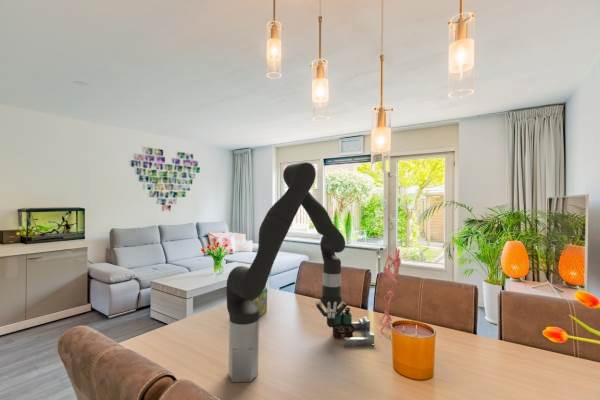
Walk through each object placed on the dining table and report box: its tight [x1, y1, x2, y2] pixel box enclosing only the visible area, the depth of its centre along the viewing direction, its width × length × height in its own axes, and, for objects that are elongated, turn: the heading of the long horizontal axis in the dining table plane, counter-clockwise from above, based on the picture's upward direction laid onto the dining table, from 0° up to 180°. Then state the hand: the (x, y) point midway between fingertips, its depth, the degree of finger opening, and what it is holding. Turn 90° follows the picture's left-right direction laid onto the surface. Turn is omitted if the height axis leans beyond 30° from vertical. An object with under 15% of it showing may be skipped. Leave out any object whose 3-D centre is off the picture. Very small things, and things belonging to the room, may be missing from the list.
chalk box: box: [253, 287, 268, 318], centre depth 144 cm, size 9×9×15 cm
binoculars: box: [331, 307, 355, 340], centre depth 121 cm, size 9×11×10 cm
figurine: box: [379, 247, 402, 338], centre depth 129 cm, size 15×26×35 cm, turn 167°
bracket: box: [338, 315, 375, 347], centre depth 121 cm, size 16×12×7 cm
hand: (330, 326), depth 120 cm, fingers closed
